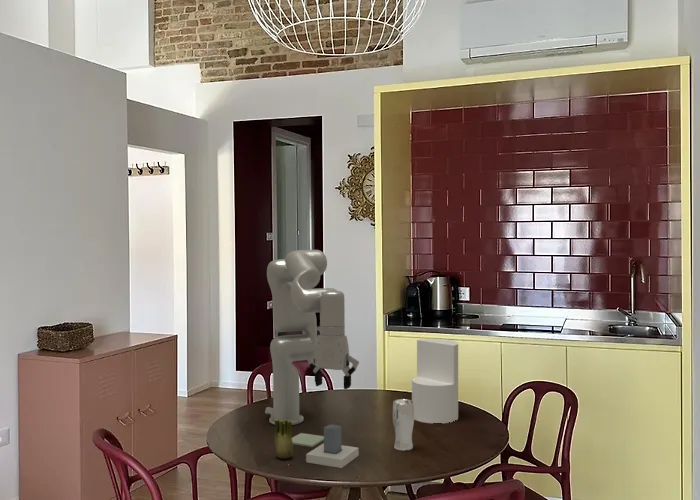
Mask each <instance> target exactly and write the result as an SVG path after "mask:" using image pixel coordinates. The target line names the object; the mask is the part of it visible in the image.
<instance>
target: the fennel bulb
mask: <svg viewBox="0 0 700 500" xmlns="http://www.w3.org/2000/svg"><path fill="white" fill-rule="evenodd" d="M291 424H292V422H291V421H288V420H287V419H285V421H284V420H278V419H276V420H275V424H274V428H275V429H274V447H275V452H276V456H277V457H278V458H279V460H288V459H291V458H292V457H293V455H294V444H293V442H292V438H293V437H292V426H293V425H291Z"/></svg>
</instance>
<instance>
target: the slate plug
mask: <svg viewBox="0 0 700 500" xmlns="http://www.w3.org/2000/svg"><path fill="white" fill-rule="evenodd" d="M323 436H324V441H323V443H324V453H331V454H337V453H339V452H340V451H341V445H342V425H337V424H331V423H330V424H327V426H324V427H323Z"/></svg>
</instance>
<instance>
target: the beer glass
mask: <svg viewBox="0 0 700 500" xmlns="http://www.w3.org/2000/svg"><path fill="white" fill-rule="evenodd" d="M414 422H415V419H414V402H413V401H412V399H405V398H400V399H395V400H393V403H392V423H393V427H394V434H395V436H394V437H395V441H394V446H393V448H394V449H395V450H397V451H404V452H405V451H406V450H407V451H411V450H413V448H414V445H413V429H414V424H415V423H414ZM407 451H406V452H407Z"/></svg>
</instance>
